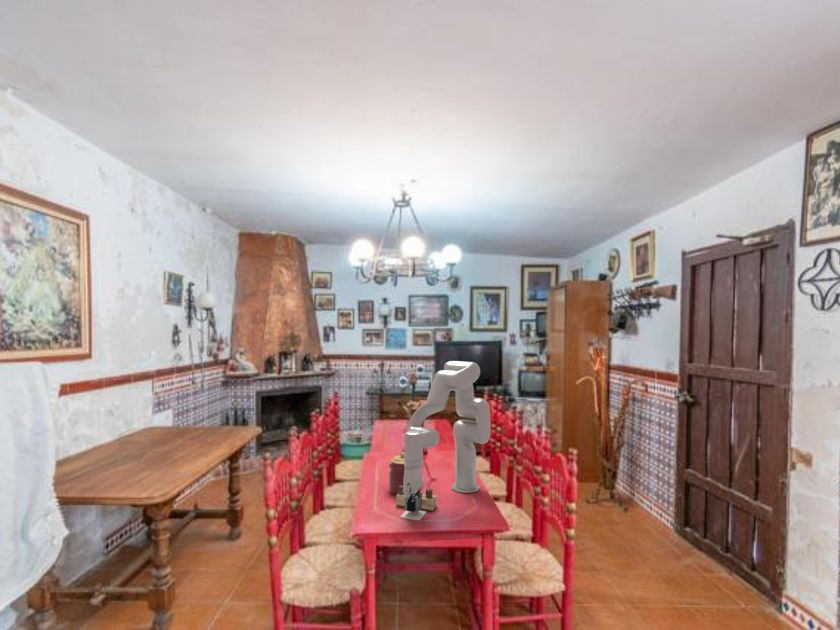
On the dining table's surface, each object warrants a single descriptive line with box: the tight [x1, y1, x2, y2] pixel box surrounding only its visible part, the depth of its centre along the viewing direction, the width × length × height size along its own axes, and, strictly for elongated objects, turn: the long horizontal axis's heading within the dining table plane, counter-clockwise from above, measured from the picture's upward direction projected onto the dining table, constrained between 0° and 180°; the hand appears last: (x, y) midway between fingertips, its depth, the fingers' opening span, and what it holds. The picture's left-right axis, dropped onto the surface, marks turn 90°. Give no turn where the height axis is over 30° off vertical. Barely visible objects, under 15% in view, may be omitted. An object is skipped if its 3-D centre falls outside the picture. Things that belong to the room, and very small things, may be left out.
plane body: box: [395, 485, 438, 512], centre depth 195 cm, size 6×16×8 cm, turn 70°
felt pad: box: [399, 510, 427, 522], centre depth 186 cm, size 8×8×1 cm
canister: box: [388, 451, 405, 496], centre depth 213 cm, size 13×13×18 cm
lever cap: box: [404, 494, 422, 512], centre depth 186 cm, size 5×6×6 cm
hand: (413, 508), depth 186 cm, fingers closed on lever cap, 4 cm apart
